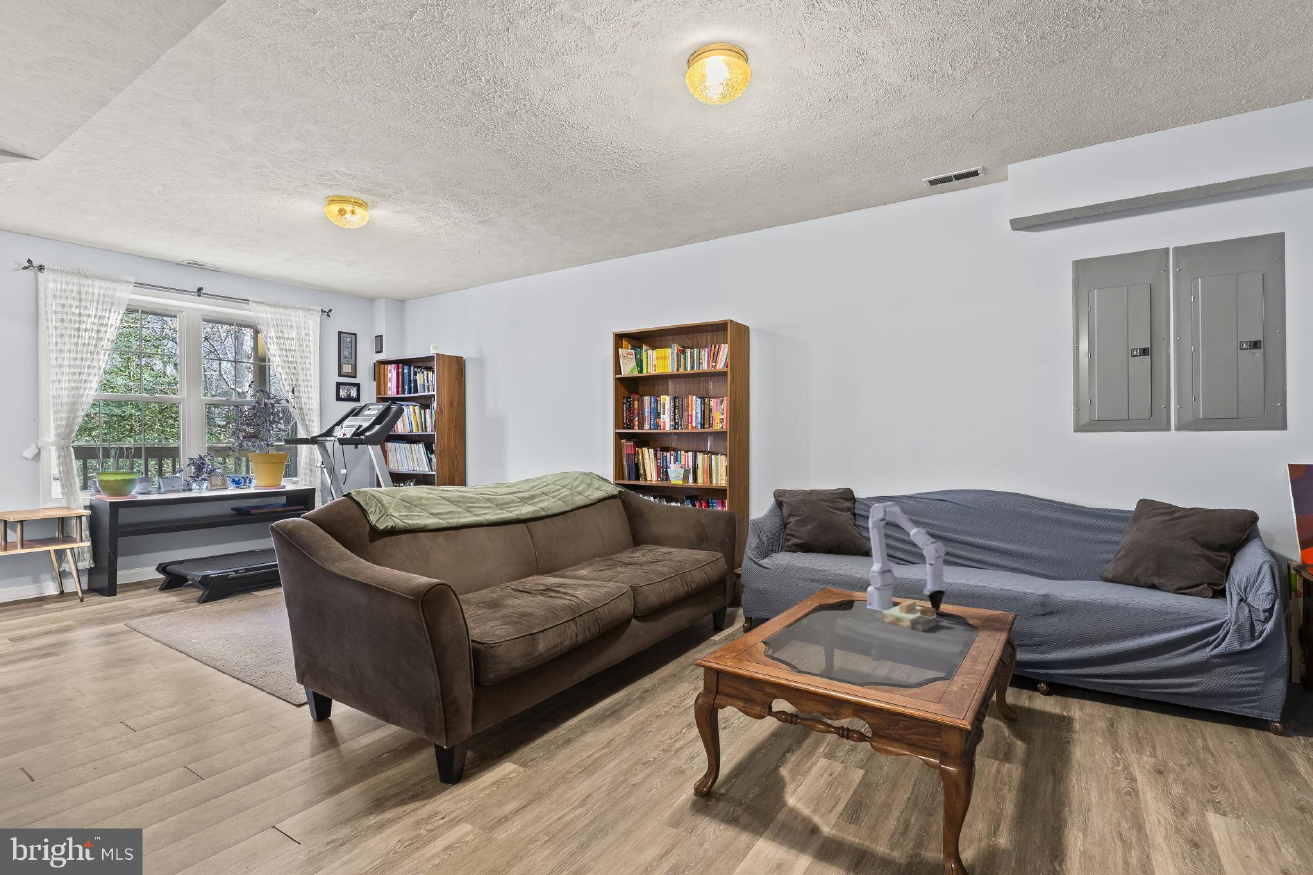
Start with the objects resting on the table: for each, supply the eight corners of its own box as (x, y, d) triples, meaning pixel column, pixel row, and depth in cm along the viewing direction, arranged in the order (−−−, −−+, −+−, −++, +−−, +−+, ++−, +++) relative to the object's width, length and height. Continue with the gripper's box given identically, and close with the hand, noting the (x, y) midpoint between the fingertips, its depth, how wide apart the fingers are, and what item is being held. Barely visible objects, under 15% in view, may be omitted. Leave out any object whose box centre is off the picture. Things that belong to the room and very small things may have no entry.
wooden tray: (881, 622, 241) (881, 612, 241) (903, 612, 252) (903, 603, 252) (921, 631, 228) (921, 621, 228) (943, 621, 239) (943, 611, 239)
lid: (882, 616, 241) (882, 604, 241) (903, 607, 252) (903, 596, 251) (922, 625, 229) (922, 612, 229) (943, 616, 239) (943, 603, 239)
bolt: (920, 614, 236) (920, 608, 236) (925, 612, 238) (925, 606, 238) (930, 616, 233) (930, 610, 233) (935, 614, 235) (935, 608, 235)
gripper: (936, 579, 232) (937, 616, 232) (954, 572, 241) (955, 607, 241) (917, 576, 237) (918, 612, 237) (936, 570, 247) (937, 604, 247)
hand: (935, 609), depth 240 cm, fingers closed
